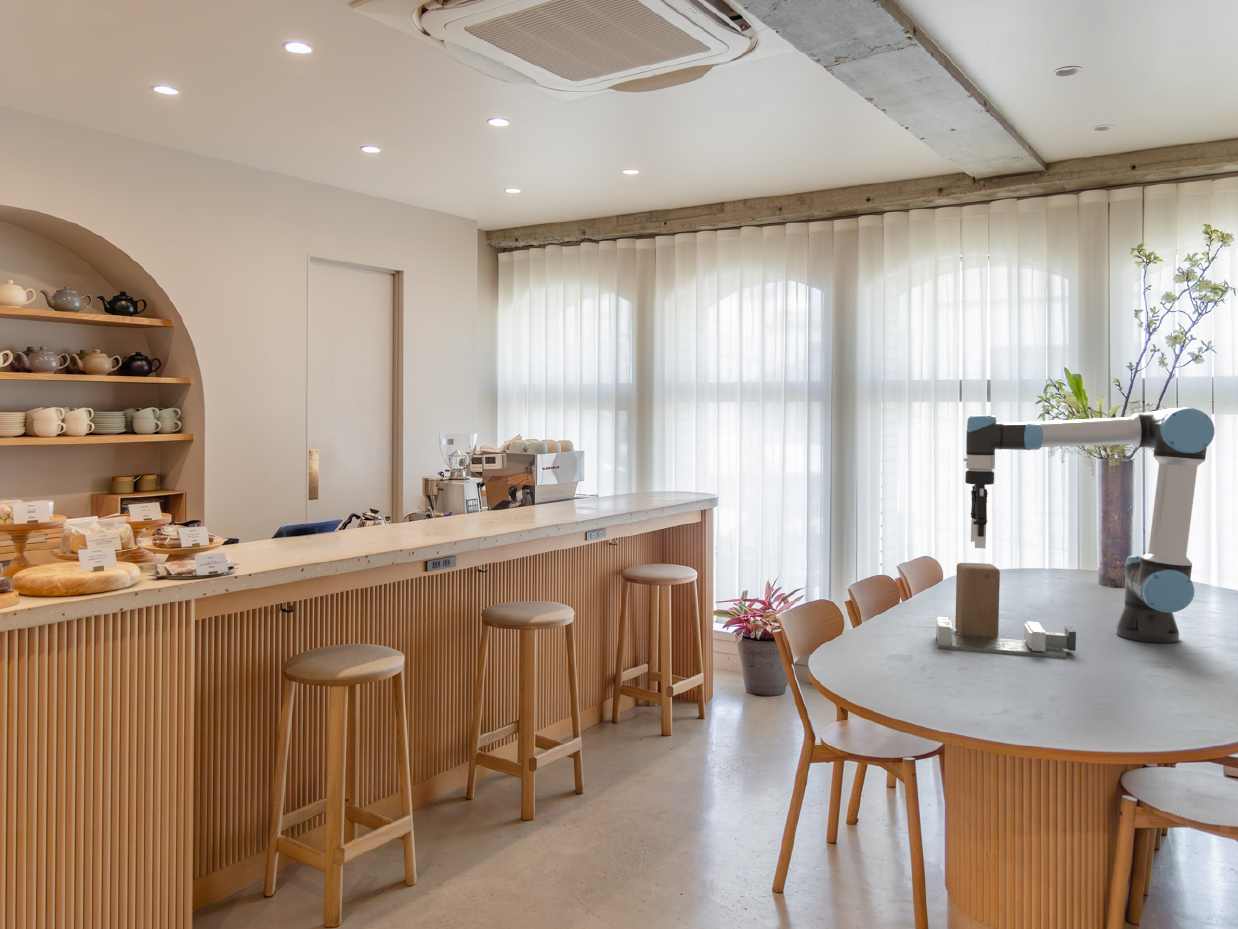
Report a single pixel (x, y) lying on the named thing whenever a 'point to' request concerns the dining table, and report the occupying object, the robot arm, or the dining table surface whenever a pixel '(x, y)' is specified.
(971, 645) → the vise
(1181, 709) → the dining table surface
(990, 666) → the dining table surface
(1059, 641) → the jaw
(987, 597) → the wooden block
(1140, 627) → the robot arm
